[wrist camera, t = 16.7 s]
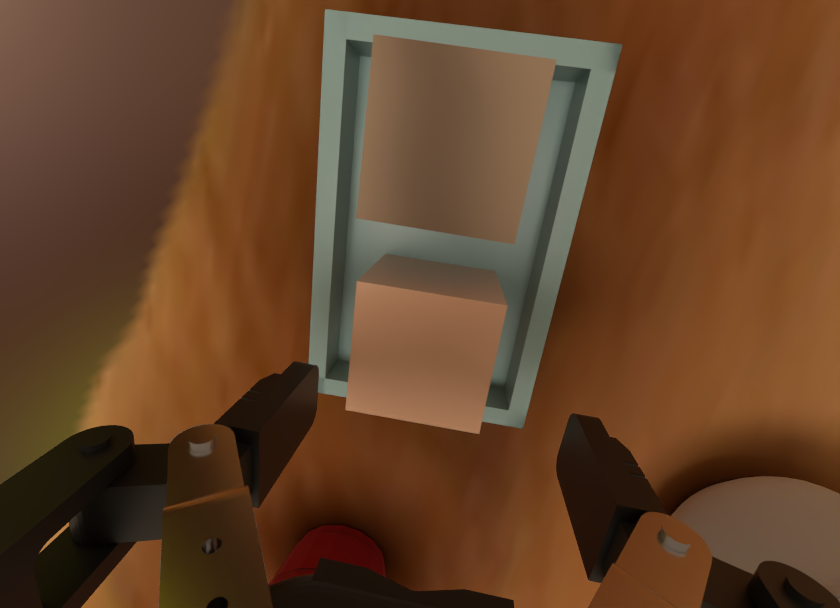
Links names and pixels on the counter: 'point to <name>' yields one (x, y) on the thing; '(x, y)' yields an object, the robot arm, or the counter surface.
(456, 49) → the walnut cube
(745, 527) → the teacup
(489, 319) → the terracotta cube
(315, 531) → the plastic cup
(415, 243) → the tray
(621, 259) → the counter surface
